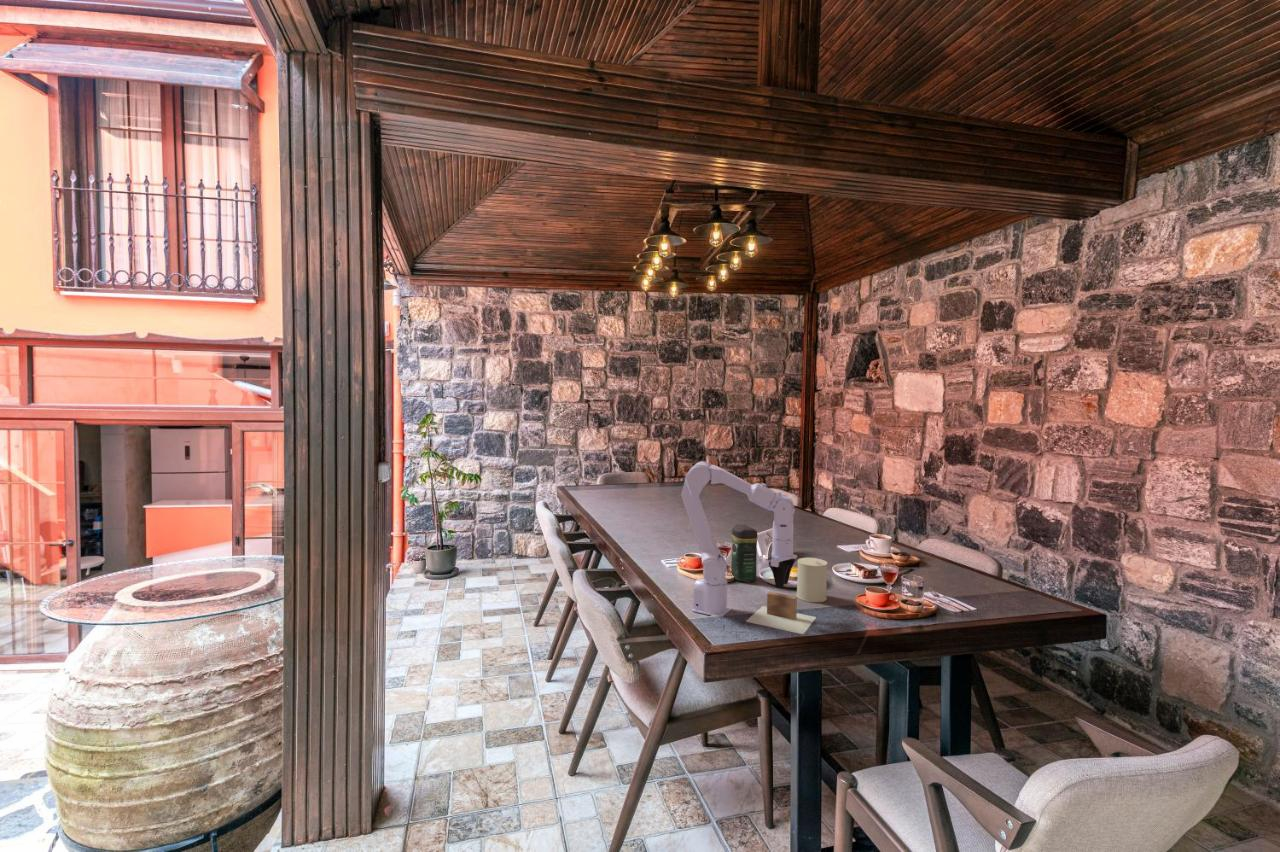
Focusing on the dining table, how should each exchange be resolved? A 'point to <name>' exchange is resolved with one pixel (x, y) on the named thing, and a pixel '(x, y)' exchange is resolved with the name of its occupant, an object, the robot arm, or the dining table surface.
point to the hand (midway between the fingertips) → (781, 585)
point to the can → (812, 579)
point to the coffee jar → (744, 553)
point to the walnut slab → (782, 605)
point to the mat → (782, 621)
